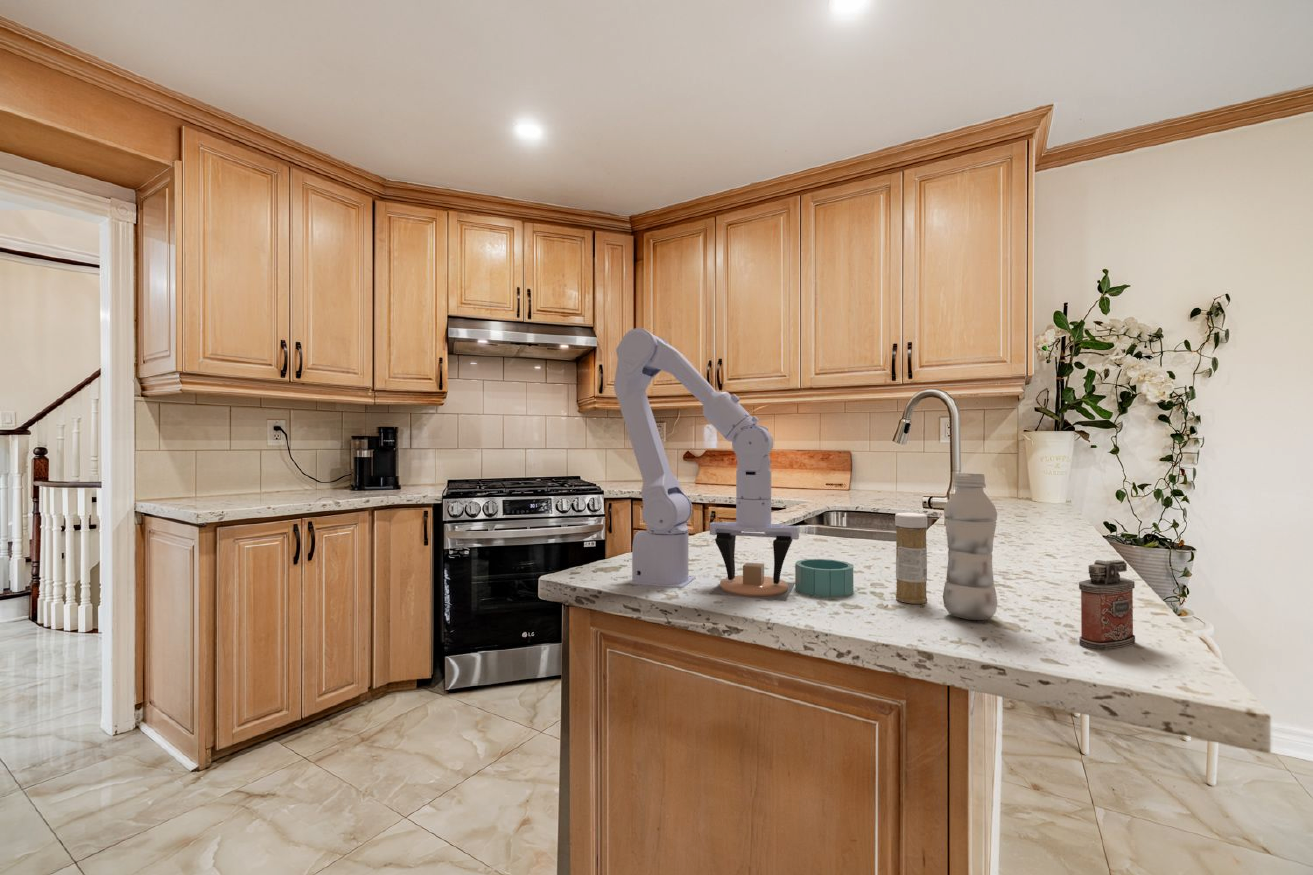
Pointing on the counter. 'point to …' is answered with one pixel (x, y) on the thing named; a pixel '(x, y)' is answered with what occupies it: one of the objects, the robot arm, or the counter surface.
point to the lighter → (1107, 607)
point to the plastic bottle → (970, 550)
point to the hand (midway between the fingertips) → (753, 580)
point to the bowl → (824, 577)
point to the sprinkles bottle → (911, 557)
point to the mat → (782, 597)
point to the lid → (753, 583)
